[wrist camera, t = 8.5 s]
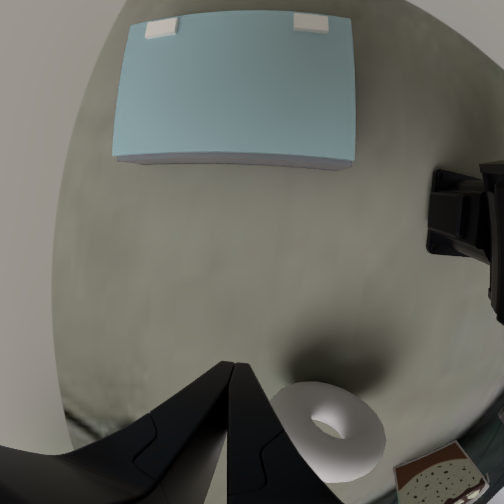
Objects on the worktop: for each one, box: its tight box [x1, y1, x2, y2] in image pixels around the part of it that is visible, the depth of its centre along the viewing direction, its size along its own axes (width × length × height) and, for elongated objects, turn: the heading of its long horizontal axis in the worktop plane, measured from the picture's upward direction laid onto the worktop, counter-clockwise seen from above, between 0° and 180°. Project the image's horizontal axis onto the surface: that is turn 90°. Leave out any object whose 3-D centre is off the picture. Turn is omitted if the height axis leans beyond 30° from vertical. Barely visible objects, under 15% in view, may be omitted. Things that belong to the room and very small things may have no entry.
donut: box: [269, 381, 386, 483], centre depth 18 cm, size 10×3×10 cm, turn 69°
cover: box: [112, 10, 356, 161], centre depth 14 cm, size 14×9×1 cm
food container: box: [393, 440, 490, 504], centre depth 20 cm, size 12×6×10 cm, turn 107°
